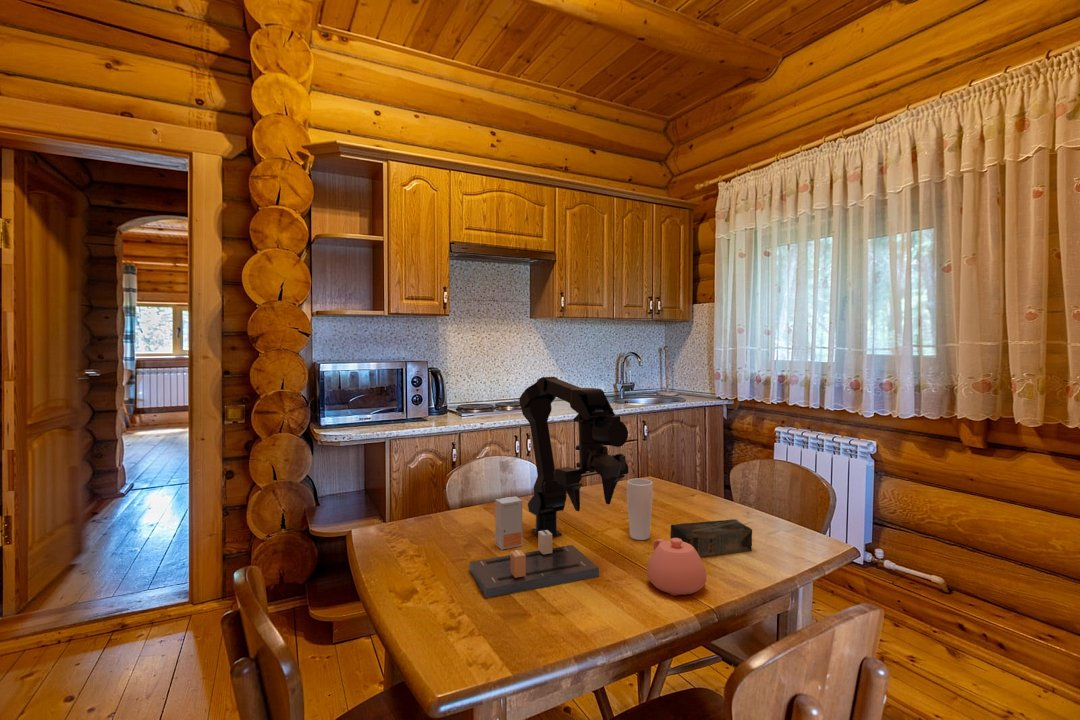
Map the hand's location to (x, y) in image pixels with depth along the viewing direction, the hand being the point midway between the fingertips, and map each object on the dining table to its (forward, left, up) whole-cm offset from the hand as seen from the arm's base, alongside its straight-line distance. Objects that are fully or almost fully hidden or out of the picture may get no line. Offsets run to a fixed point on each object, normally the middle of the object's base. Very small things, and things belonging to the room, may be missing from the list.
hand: (593, 507), depth 124 cm
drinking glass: (-9, +18, -13) cm, 24 cm away
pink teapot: (+17, +10, -13) cm, 24 cm away
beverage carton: (+5, +30, -13) cm, 34 cm away
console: (+1, -16, -13) cm, 20 cm away
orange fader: (+5, -21, -11) cm, 24 cm away
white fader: (-4, -11, -11) cm, 15 cm away
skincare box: (-17, -16, -13) cm, 26 cm away
